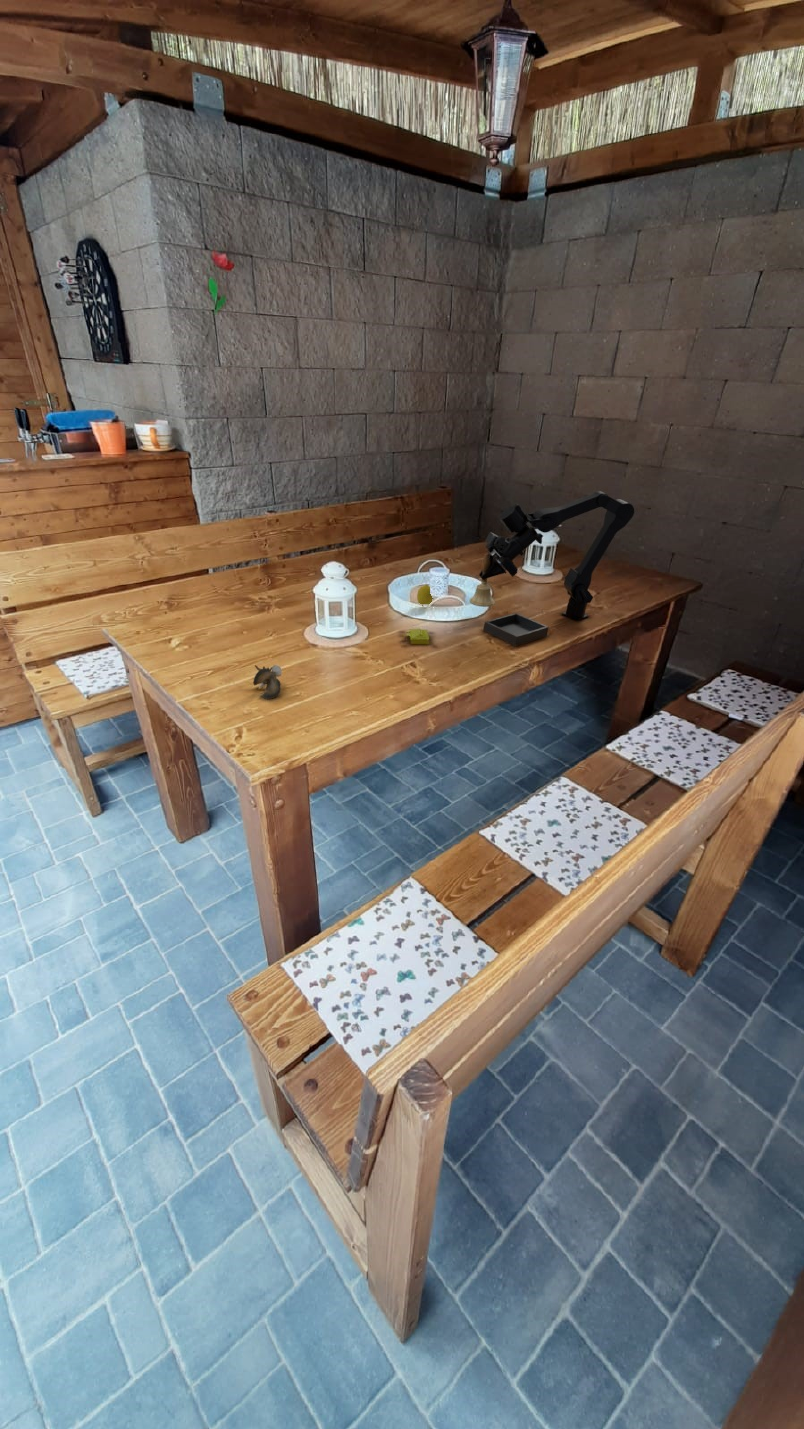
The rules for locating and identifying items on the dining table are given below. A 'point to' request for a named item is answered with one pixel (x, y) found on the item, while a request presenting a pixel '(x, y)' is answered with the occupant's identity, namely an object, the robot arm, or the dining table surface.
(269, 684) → the dark creature figurine
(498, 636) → the bin
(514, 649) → the dining table surface
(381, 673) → the dining table surface
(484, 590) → the hand bell
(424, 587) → the olive green oval piece
